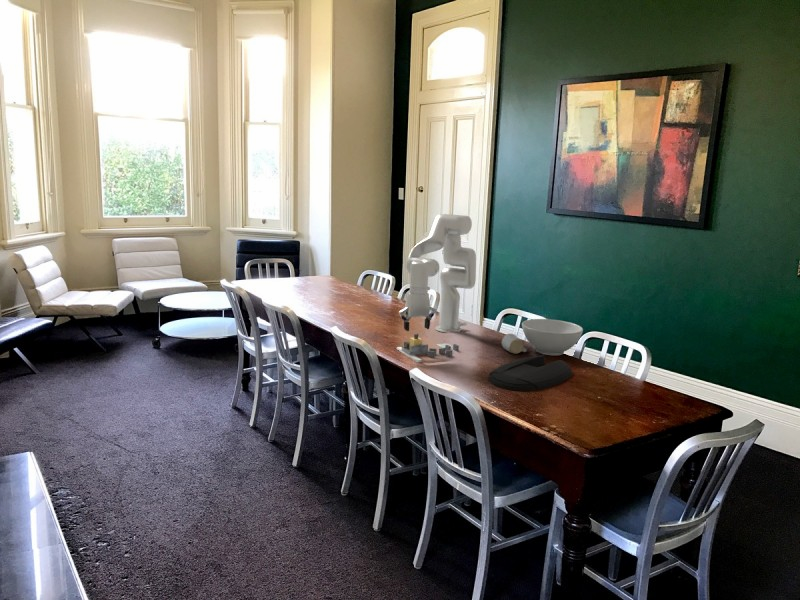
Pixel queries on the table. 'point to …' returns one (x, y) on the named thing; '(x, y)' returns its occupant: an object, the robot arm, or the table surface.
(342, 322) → the table surface
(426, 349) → the end holder
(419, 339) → the connector
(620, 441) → the table surface
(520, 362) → the folded dark cloth
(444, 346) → the board
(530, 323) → the decorative bowl
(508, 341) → the ceramic mug
